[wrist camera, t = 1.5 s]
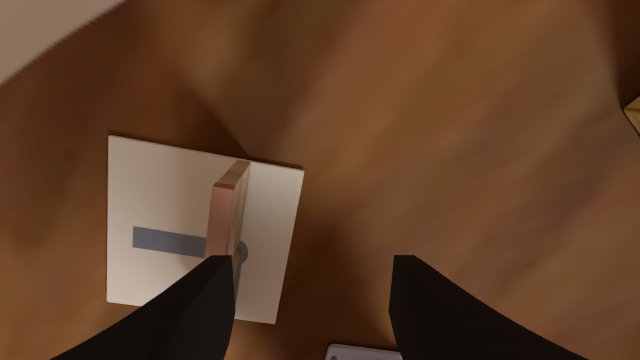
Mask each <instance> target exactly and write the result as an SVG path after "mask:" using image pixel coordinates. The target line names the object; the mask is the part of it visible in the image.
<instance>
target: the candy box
mask: <svg viewBox="0 0 640 360" xmlns="http://www.w3.org/2000/svg"><path fill="white" fill-rule="evenodd" d="M623 110H624V112H625V114H626V116H627V117H628V118H629V120H630V122H632V124H633V125H634V127H635V128H636V130H637V131H638V133H639V134H640V97H638V98H637V99H636V100H634V101H633V102H631V103H630V104H629V105H627V106H626V107H625V108H624V109H623Z"/></svg>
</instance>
